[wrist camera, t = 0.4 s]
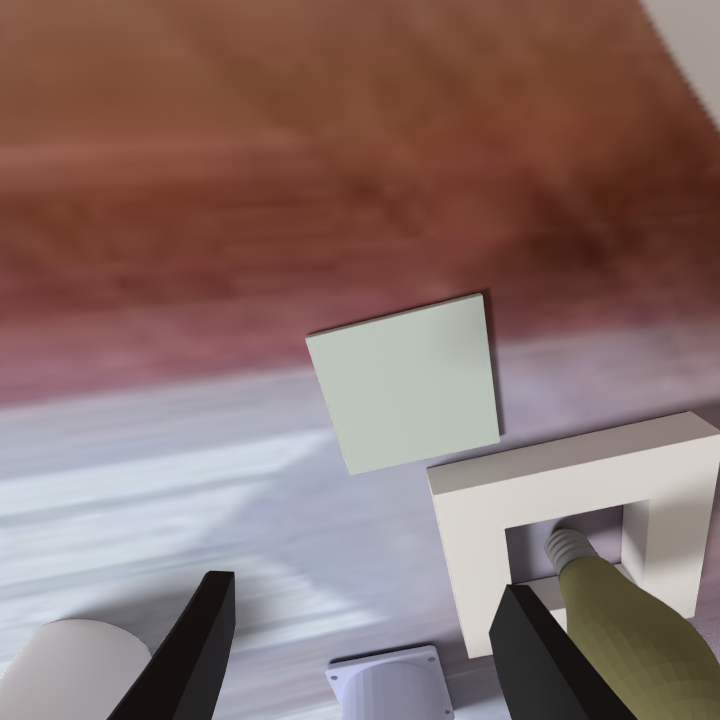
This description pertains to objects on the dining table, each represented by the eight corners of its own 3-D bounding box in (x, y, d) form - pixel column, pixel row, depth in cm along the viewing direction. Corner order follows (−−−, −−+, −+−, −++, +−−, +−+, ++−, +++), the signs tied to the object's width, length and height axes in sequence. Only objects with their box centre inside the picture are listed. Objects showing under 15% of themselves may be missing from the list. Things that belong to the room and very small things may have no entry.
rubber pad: (497, 437, 21) (499, 442, 20) (349, 470, 21) (349, 475, 21) (479, 293, 17) (482, 295, 17) (305, 335, 18) (305, 338, 18)
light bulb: (619, 499, 23) (803, 710, 14) (590, 566, 25) (731, 786, 16) (525, 496, 22) (650, 710, 13) (504, 565, 25) (598, 788, 16)
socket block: (669, 586, 26) (693, 616, 24) (460, 626, 27) (469, 658, 25) (690, 411, 20) (724, 433, 19) (425, 469, 21) (433, 495, 20)
